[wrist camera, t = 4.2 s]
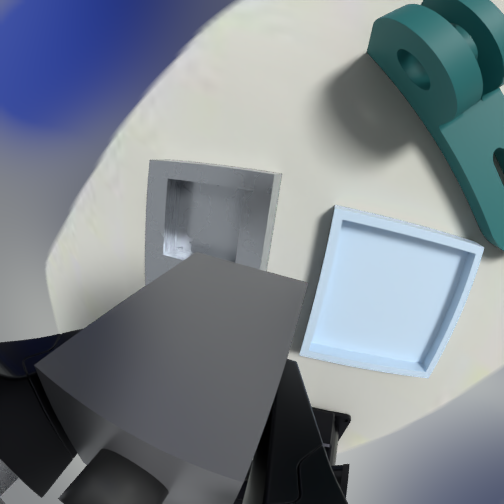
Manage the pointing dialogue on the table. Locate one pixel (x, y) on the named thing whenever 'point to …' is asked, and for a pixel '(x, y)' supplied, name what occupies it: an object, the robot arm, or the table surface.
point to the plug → (174, 384)
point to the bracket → (454, 90)
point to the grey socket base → (208, 214)
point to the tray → (388, 293)
